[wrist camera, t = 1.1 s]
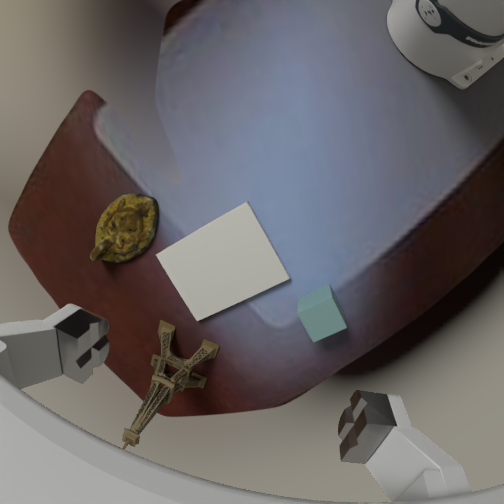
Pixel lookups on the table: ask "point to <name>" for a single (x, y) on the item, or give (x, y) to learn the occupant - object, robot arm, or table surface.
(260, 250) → the board
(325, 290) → the cube
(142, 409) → the eiffel tower
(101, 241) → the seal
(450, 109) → the table surface
